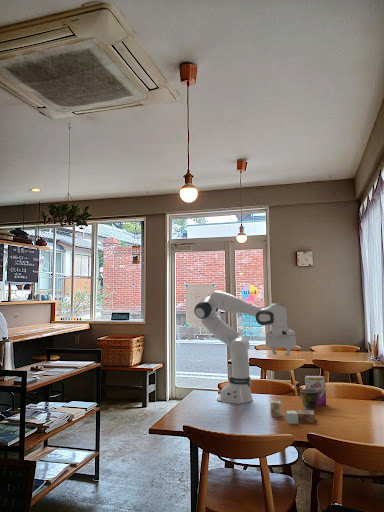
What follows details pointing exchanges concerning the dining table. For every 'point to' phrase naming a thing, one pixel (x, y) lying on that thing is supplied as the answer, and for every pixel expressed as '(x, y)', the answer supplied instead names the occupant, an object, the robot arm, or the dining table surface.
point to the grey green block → (292, 417)
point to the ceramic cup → (309, 398)
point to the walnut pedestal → (306, 416)
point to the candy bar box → (317, 388)
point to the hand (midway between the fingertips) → (281, 355)
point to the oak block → (276, 408)
